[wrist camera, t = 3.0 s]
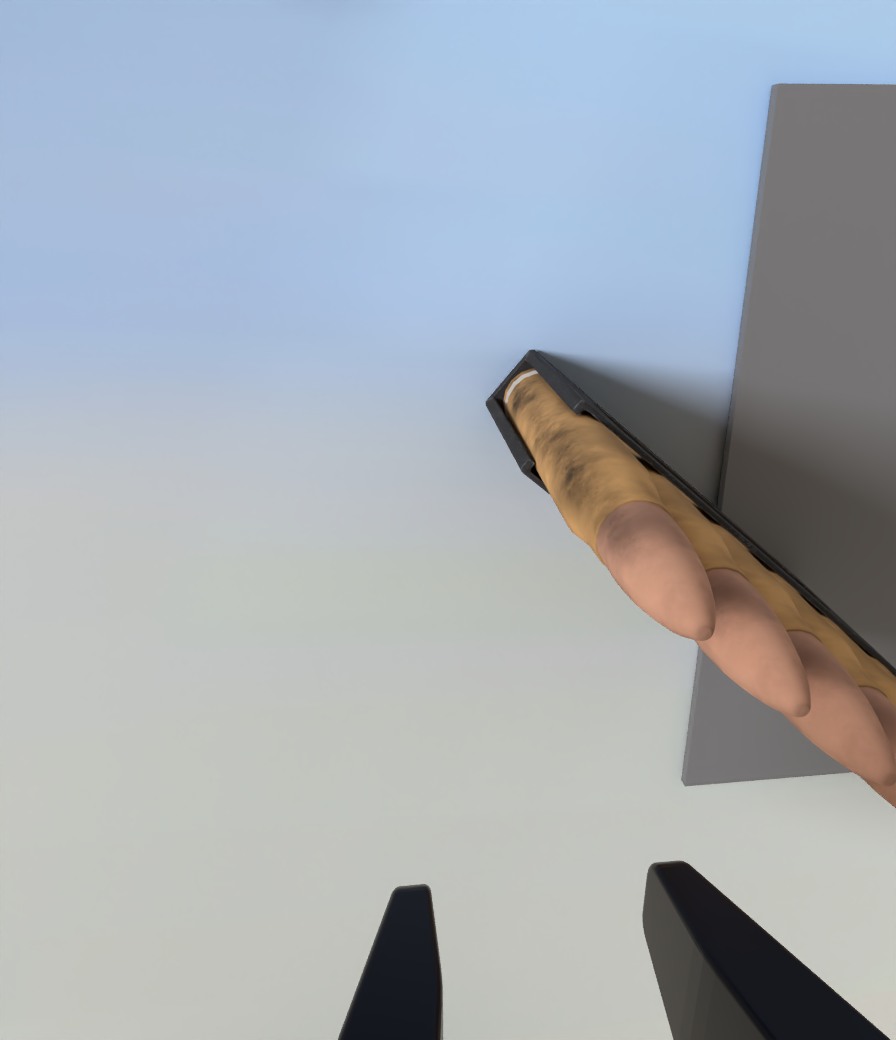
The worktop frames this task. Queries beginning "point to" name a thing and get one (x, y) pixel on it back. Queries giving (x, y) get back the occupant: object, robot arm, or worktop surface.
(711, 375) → the worktop surface
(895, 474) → the rubber mat
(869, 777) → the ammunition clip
